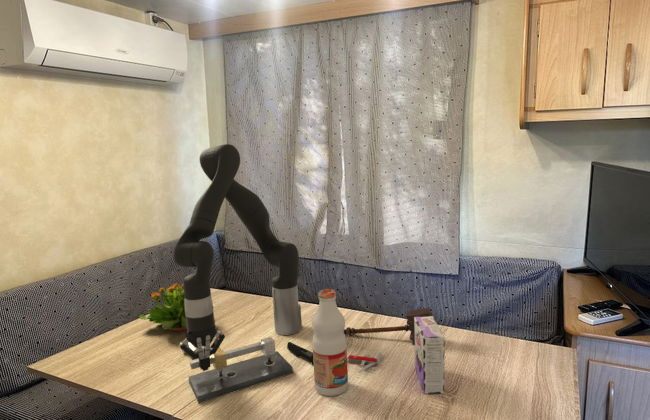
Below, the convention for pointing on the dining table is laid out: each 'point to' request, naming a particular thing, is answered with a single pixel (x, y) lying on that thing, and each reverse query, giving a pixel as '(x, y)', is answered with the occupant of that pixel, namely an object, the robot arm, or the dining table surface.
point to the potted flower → (169, 309)
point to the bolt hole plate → (238, 376)
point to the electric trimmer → (300, 352)
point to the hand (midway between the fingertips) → (205, 369)
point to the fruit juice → (329, 346)
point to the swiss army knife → (364, 360)
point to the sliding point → (219, 360)
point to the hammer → (408, 327)
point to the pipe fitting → (192, 348)
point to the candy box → (429, 354)
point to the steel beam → (245, 351)
